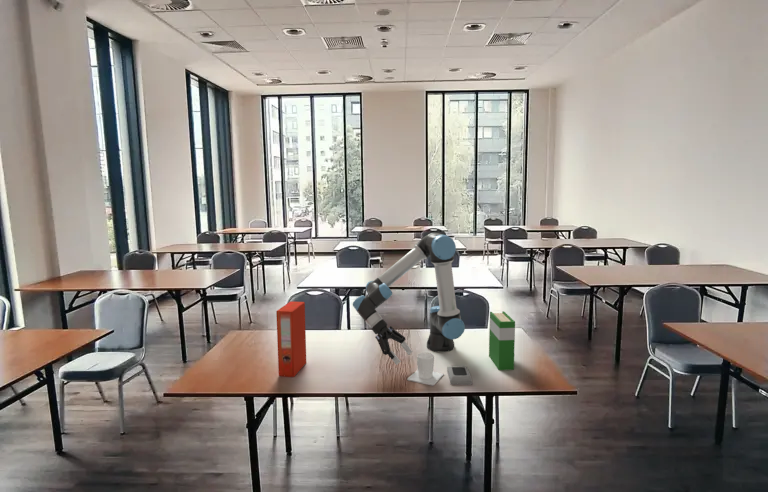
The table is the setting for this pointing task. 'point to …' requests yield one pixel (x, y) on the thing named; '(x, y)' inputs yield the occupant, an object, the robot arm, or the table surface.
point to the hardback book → (502, 340)
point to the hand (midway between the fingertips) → (405, 358)
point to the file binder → (291, 338)
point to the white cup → (425, 365)
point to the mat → (430, 381)
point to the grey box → (459, 375)
